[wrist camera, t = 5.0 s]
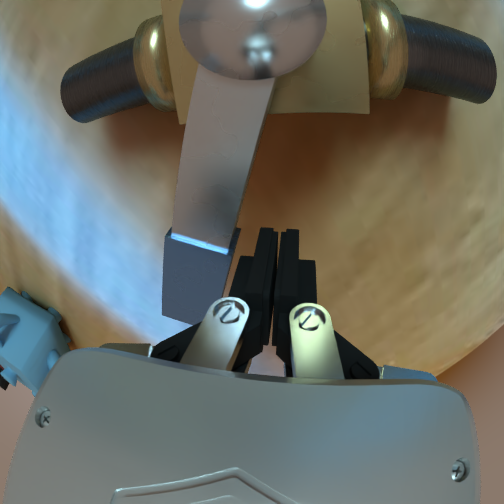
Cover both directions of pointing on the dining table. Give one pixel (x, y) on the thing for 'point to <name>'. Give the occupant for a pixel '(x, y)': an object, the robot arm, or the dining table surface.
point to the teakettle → (28, 340)
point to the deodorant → (3, 380)
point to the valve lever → (226, 133)
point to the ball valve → (301, 80)
